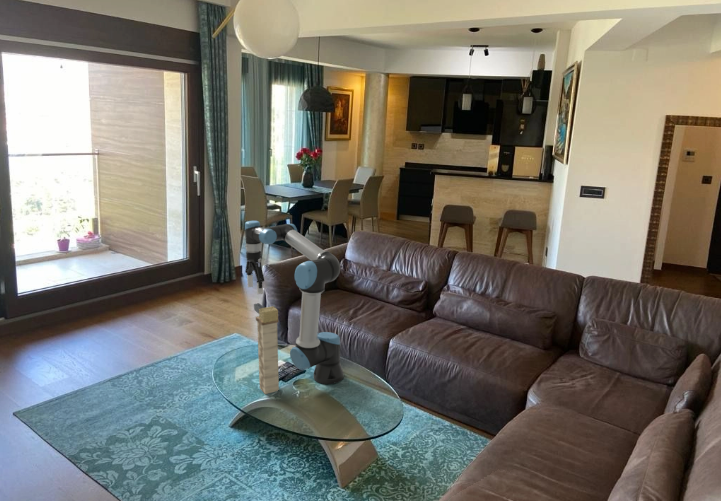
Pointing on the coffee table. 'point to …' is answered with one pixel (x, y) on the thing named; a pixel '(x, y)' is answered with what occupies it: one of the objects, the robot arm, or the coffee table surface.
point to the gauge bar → (266, 313)
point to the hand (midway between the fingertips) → (255, 290)
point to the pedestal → (268, 356)
